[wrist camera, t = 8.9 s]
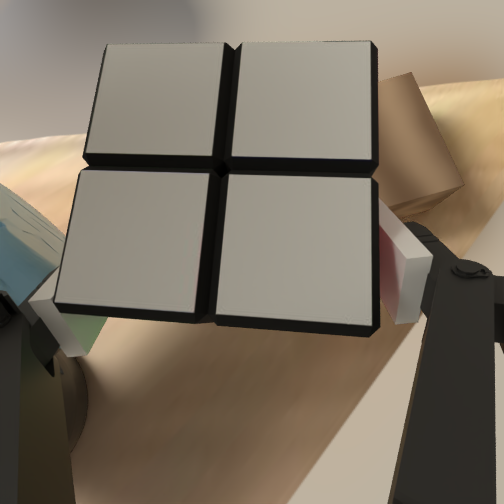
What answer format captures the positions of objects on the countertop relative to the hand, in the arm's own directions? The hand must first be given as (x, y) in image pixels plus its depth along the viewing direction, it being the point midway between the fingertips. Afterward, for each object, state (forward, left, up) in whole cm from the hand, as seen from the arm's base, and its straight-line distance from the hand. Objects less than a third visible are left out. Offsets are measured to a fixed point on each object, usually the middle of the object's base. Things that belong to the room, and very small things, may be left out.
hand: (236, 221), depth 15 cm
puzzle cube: (0, 0, -4) cm, 4 cm away
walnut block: (+13, +11, -20) cm, 26 cm away
